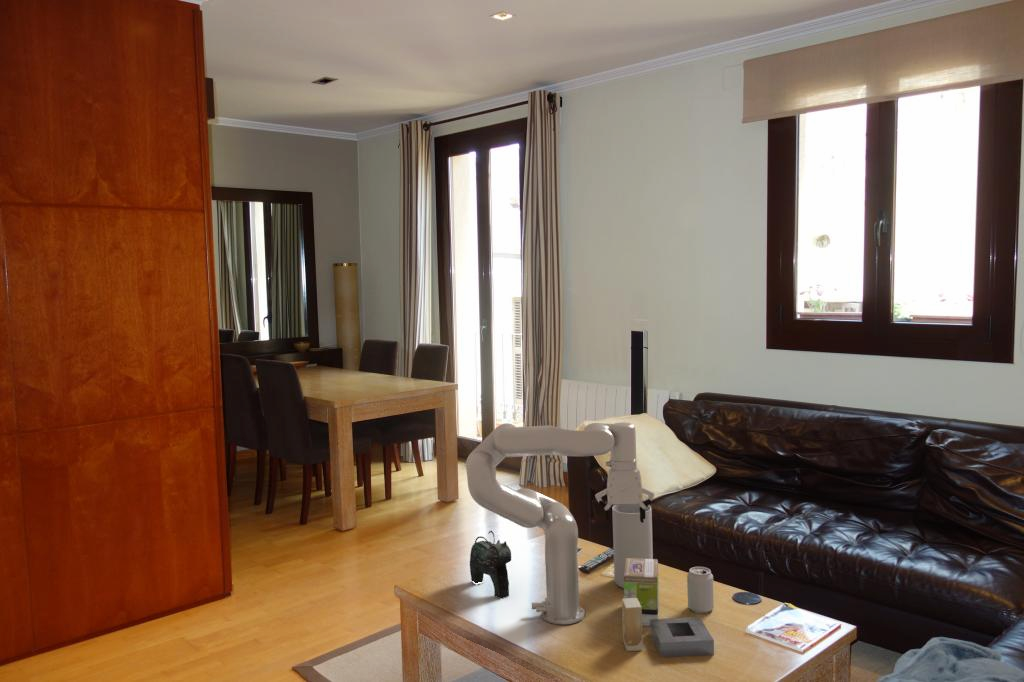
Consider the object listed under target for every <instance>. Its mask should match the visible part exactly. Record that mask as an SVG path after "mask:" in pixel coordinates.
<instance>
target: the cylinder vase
mask: <svg viewBox="0 0 1024 682" xmlns="http://www.w3.org/2000/svg"><path fill="white" fill-rule="evenodd" d="M611 507H612V540H613V541H612V543H613V547H612V548H613V572H614V573H613V576H614V577H613V579H614V583H615V585H617V586H618V587H619V588H622V589H624V569H625V560H626V558H636V559H654V558H653V557H654V553H653V552H654V551H653V549H654V548H653V519H652V517H653V513H652V512H653V511H652V510H653V509H652V506H651V505H650V504H649V505H648V506H647V507H646V509H645V519H643V523H642V522H641V521H640V505H639V504H633V505H612V506H611Z"/></svg>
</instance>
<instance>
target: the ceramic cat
mask: <svg viewBox="0 0 1024 682" xmlns="http://www.w3.org/2000/svg"><path fill="white" fill-rule="evenodd" d="M490 534H492V536H493V542H492V541H488V539H487V538H485V537H484V536H480V535H479V536H477V537H476V538H475V539H474V540H475V541H474V543H473V544H472V546H471V549H470V555H469V572H470V578H471V580H472V581H474V582H475V583H478V582H482V581H483V582H484V574H485V575H487V576H489V577H490V580H491V582H492V584H493V588H494V589H493V590H494V591H493V592H494V593H493V594H494V595H493V596H494V597H496V596H497V598H498V597H499V598H498V599H500V598H502V599H504V598H503V597H505V598H507V597H506V596H508V597H510V582H509V576H508V575H509V574H508V569H507V564H508V563H510V562H511V561H512V551H511V548H510V547H509V545H508V544H507V541H504V542H502V543H501V542H500V539H498V540H497V542H496V541H495V540H496V539H495V534H494V532H493V530H489V531H488V535H490ZM478 539H483V540H480V541H478ZM495 542H496V543H495ZM471 580H470V581H471ZM472 581H471V582H472Z"/></svg>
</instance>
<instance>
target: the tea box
mask: <svg viewBox="0 0 1024 682" xmlns="http://www.w3.org/2000/svg"><path fill="white" fill-rule="evenodd" d="M659 597H660V596H659V561H658V559H657V558H653V559H636V558H626V560H625V569H624V588H623V599H625V598H637V599H638V601H639V603H640V605H641V607H642V627H643V626H644V627H650V619H659V601H660V600H659Z"/></svg>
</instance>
